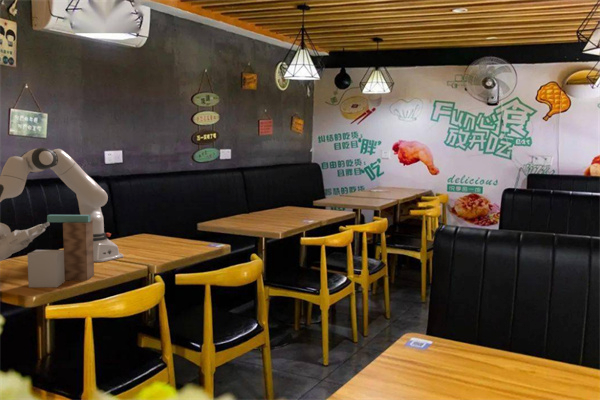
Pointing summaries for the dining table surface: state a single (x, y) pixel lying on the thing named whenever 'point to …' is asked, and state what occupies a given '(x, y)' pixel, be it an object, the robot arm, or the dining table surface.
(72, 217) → the rail
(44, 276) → the grey block
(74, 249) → the stand
